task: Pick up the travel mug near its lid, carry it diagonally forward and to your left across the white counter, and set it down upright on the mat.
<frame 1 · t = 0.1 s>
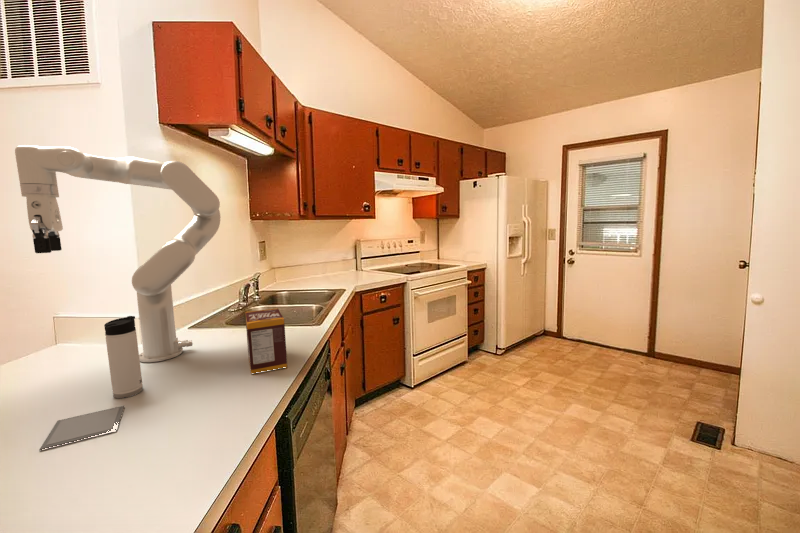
hand: (49, 251, 103), 37 cm above the counter, tool pointing down, fingers open, 9 cm apart
mat: (86, 427, 78), on the counter
travel mug: (129, 393, 94), on the counter
supplement box: (267, 363, 112), on the counter
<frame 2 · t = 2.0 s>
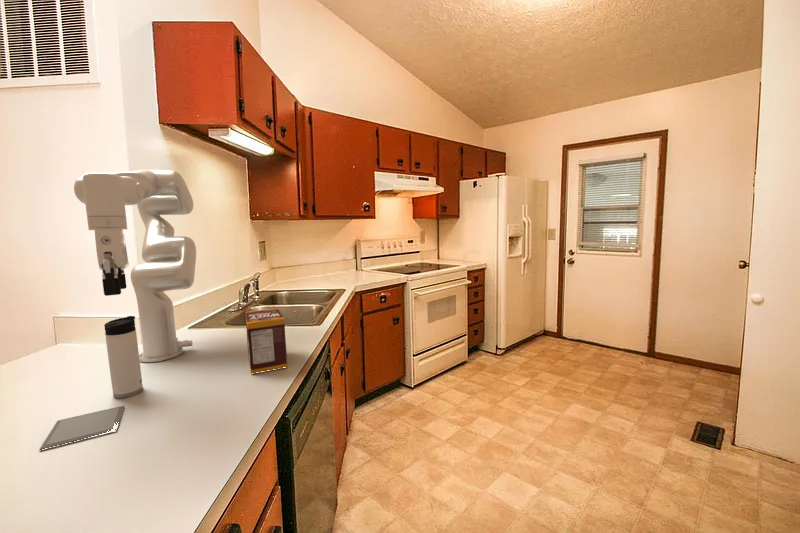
hand: (116, 291, 90), 27 cm above the counter, tool pointing down, fingers open, 9 cm apart
nothing on the counter moved.
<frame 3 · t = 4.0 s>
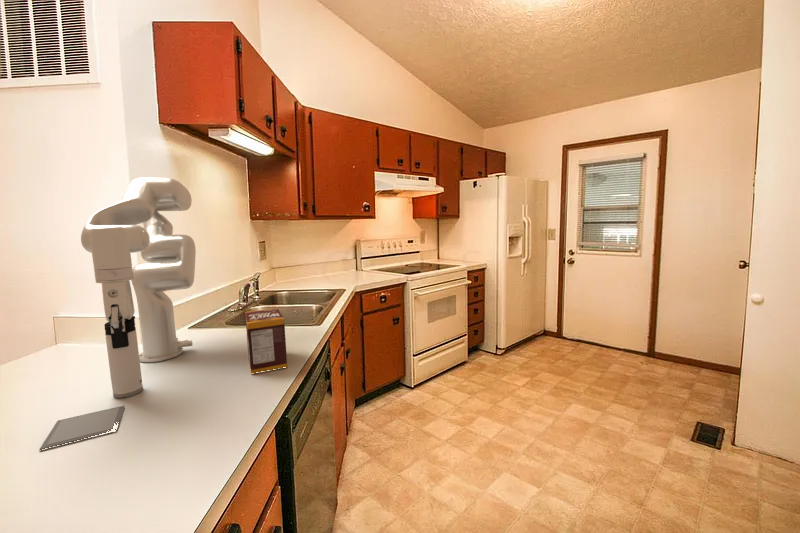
hand: (122, 342, 92), 14 cm above the counter, tool pointing down, fingers closed on travel mug, 6 cm apart
travel mug: (129, 393, 94), on the counter, touching gripper
everything else where it was.
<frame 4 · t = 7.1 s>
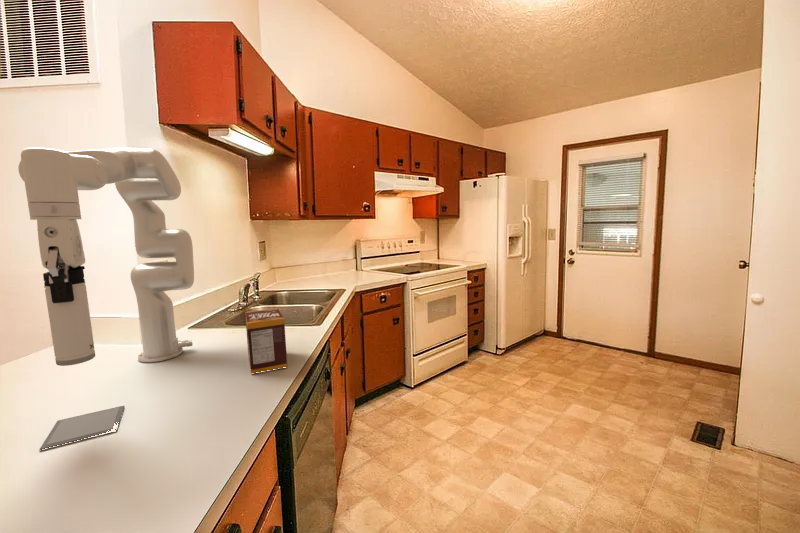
hand: (68, 298, 74), 29 cm above the counter, tool pointing down, fingers closed on travel mug, 6 cm apart
travel mug: (77, 360, 76), point 15 cm above the counter, touching gripper
everything else where it was.
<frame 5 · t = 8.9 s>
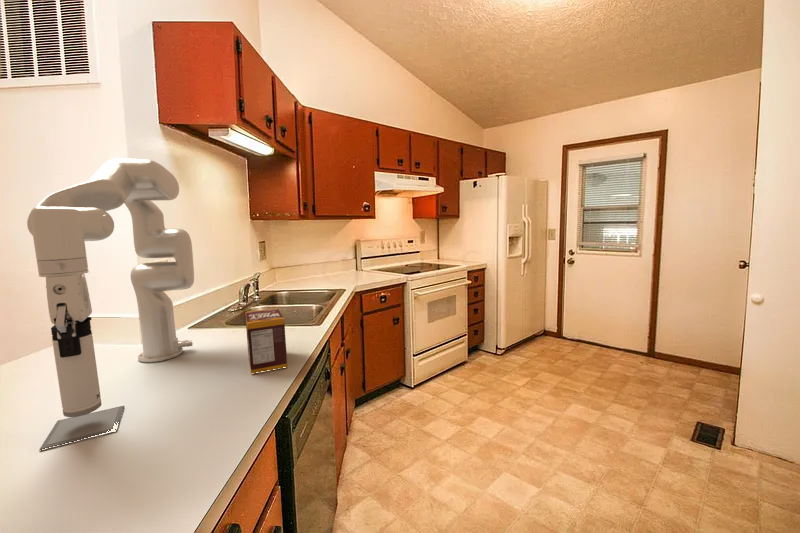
hand: (75, 349, 76), 18 cm above the counter, tool pointing down, fingers closed on travel mug, 6 cm apart
travel mug: (84, 410, 77), point 4 cm above the counter, touching gripper
everything else where it was.
when the fingers open (15 cm above the counter, at t = 10.4 s): travel mug stays where it is, resting on mat.
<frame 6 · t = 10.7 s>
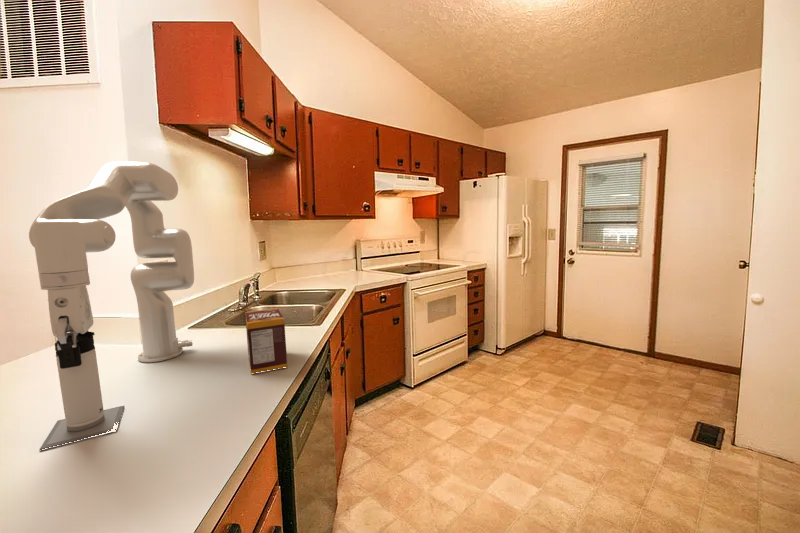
hand: (76, 359, 76), 16 cm above the counter, tool pointing down, fingers open, 8 cm apart
travel mug: (87, 424, 78), resting on mat
everything else where it was.
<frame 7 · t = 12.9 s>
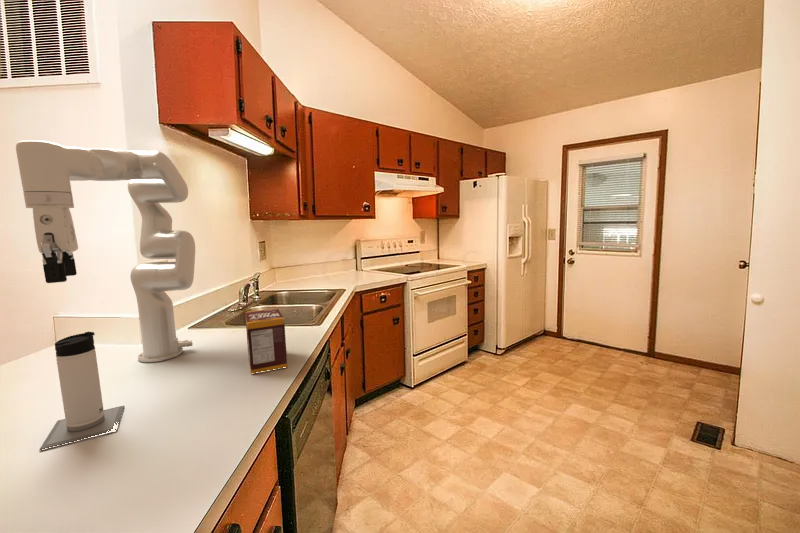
hand: (62, 278, 79), 32 cm above the counter, tool pointing down, fingers open, 9 cm apart
nothing on the counter moved.
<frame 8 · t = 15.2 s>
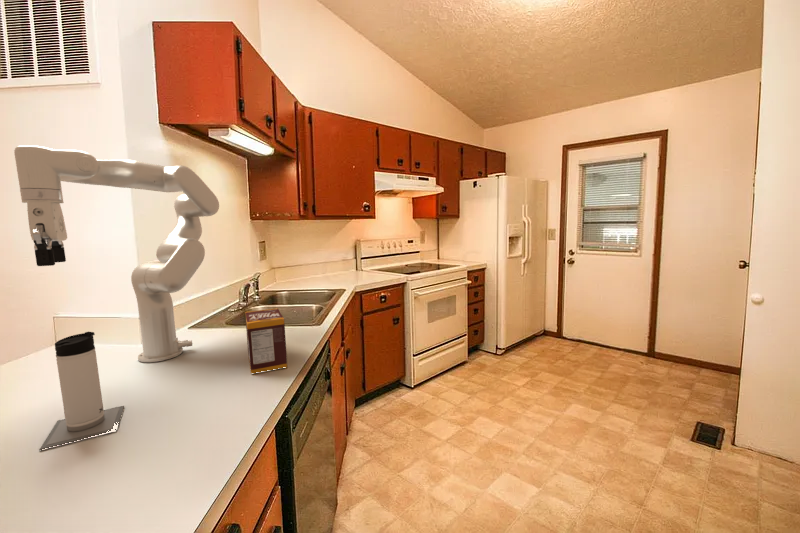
hand: (52, 263, 92), 34 cm above the counter, tool pointing down, fingers open, 9 cm apart
nothing on the counter moved.
at the end: travel mug inside the target area on the mat (0.4 cm from its centre), point 0.4 cm above the mat's base; travel mug tilted 0°; the gripper is holding nothing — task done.
